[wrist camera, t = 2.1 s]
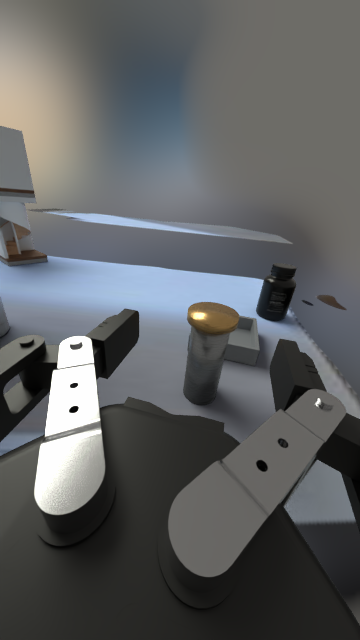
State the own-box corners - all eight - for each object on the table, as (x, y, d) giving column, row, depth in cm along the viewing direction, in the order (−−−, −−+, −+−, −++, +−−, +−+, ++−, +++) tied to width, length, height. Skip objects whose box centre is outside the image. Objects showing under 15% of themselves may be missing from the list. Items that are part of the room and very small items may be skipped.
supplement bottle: (289, 316, 53) (307, 267, 48) (276, 324, 49) (294, 272, 43) (263, 306, 58) (277, 260, 52) (249, 312, 53) (262, 263, 48)
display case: (8, 266, 68) (-34, 117, 51) (-3, 258, 74) (-45, 122, 57) (47, 261, 76) (21, 131, 59) (34, 254, 82) (7, 134, 65)
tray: (187, 350, 38) (189, 335, 36) (199, 321, 47) (201, 308, 46) (254, 366, 36) (259, 350, 34) (252, 332, 45) (256, 318, 44)
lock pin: (173, 402, 28) (182, 319, 22) (184, 373, 33) (193, 298, 27) (217, 414, 27) (238, 330, 21) (221, 382, 32) (239, 307, 26)
